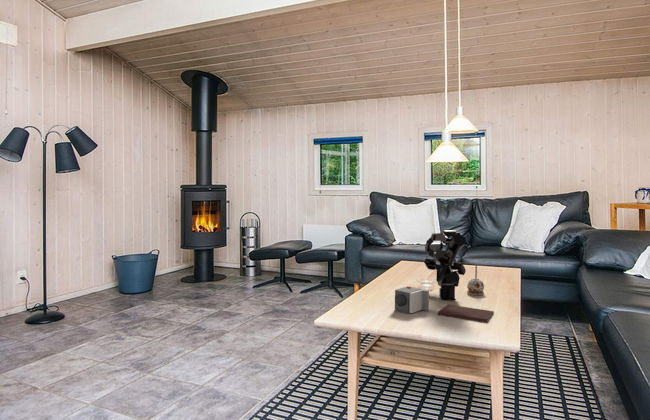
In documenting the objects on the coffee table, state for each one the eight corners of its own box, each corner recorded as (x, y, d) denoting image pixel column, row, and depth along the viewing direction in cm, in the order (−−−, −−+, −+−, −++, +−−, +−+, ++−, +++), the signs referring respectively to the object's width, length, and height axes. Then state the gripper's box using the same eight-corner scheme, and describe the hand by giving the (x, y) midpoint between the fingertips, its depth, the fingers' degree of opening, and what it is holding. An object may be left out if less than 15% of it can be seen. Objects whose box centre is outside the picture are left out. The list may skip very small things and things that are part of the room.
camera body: (407, 305, 194) (408, 284, 194) (421, 309, 189) (421, 287, 189) (392, 310, 186) (393, 289, 186) (406, 314, 181) (406, 291, 181)
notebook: (447, 307, 194) (447, 303, 194) (493, 314, 184) (493, 310, 184) (437, 316, 181) (438, 311, 181) (487, 324, 171) (487, 319, 171)
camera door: (421, 308, 189) (422, 289, 188) (428, 310, 186) (429, 290, 186) (409, 312, 182) (409, 293, 182) (416, 314, 180) (416, 294, 179)
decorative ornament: (474, 296, 212) (475, 266, 211) (464, 292, 219) (464, 263, 218) (487, 295, 215) (488, 265, 214) (476, 291, 222) (477, 262, 221)
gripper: (426, 241, 202) (412, 267, 195) (463, 245, 189) (450, 273, 182) (434, 255, 208) (421, 281, 201) (471, 260, 195) (458, 288, 188)
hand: (437, 281), depth 193 cm, fingers closed
